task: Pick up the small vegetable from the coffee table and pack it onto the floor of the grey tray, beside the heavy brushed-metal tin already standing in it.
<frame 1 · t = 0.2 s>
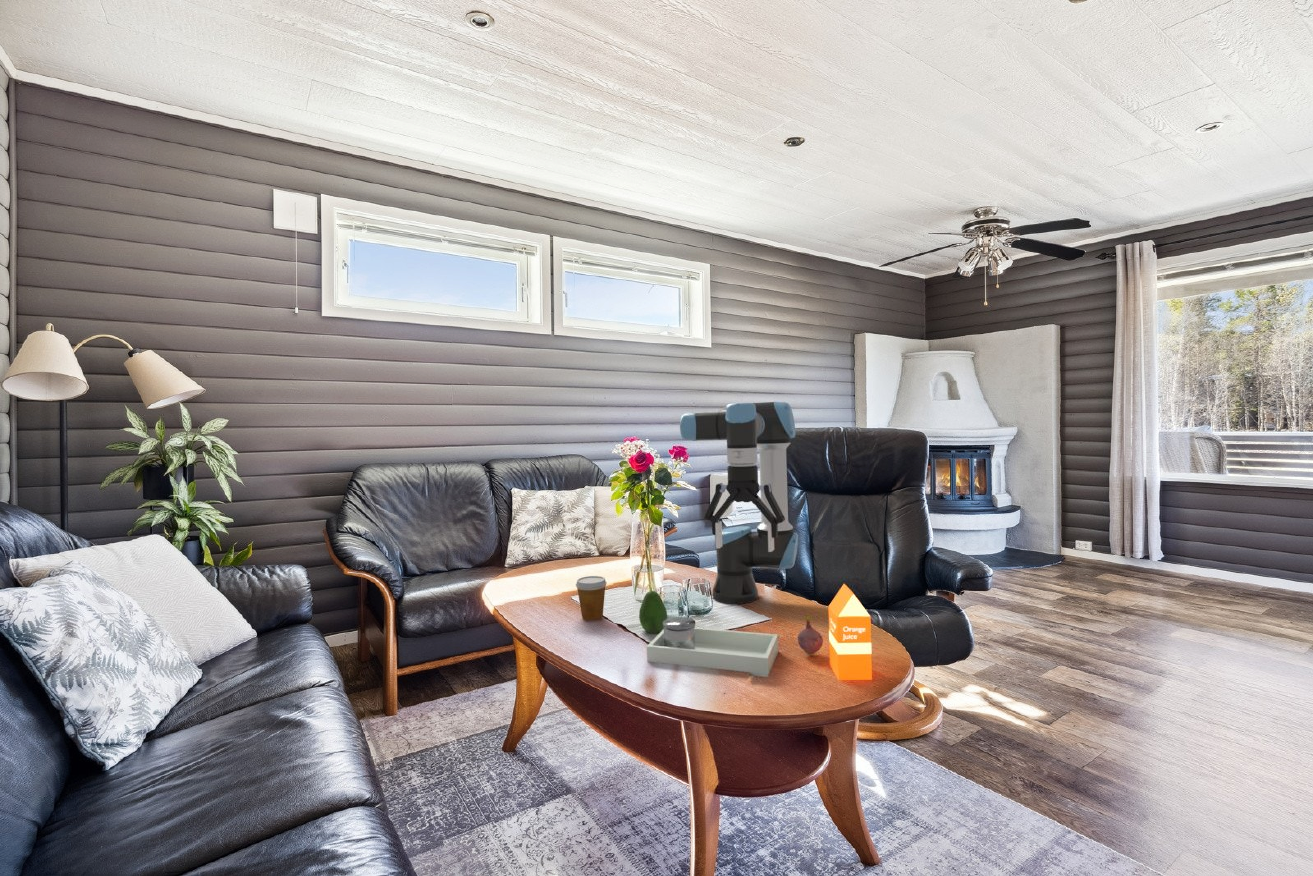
hand: (744, 549, 156), 27 cm above the table, fingers open, 13 cm apart
orange juice: (850, 672, 146), on the table
disposable coffee cup: (592, 618, 192), on the table
avocado: (653, 634, 177), on the table
tin: (680, 651, 160), point 1 cm above the table, touching grey tray
vegetable: (810, 655, 157), on the table
grey tray: (714, 658, 157), on the table
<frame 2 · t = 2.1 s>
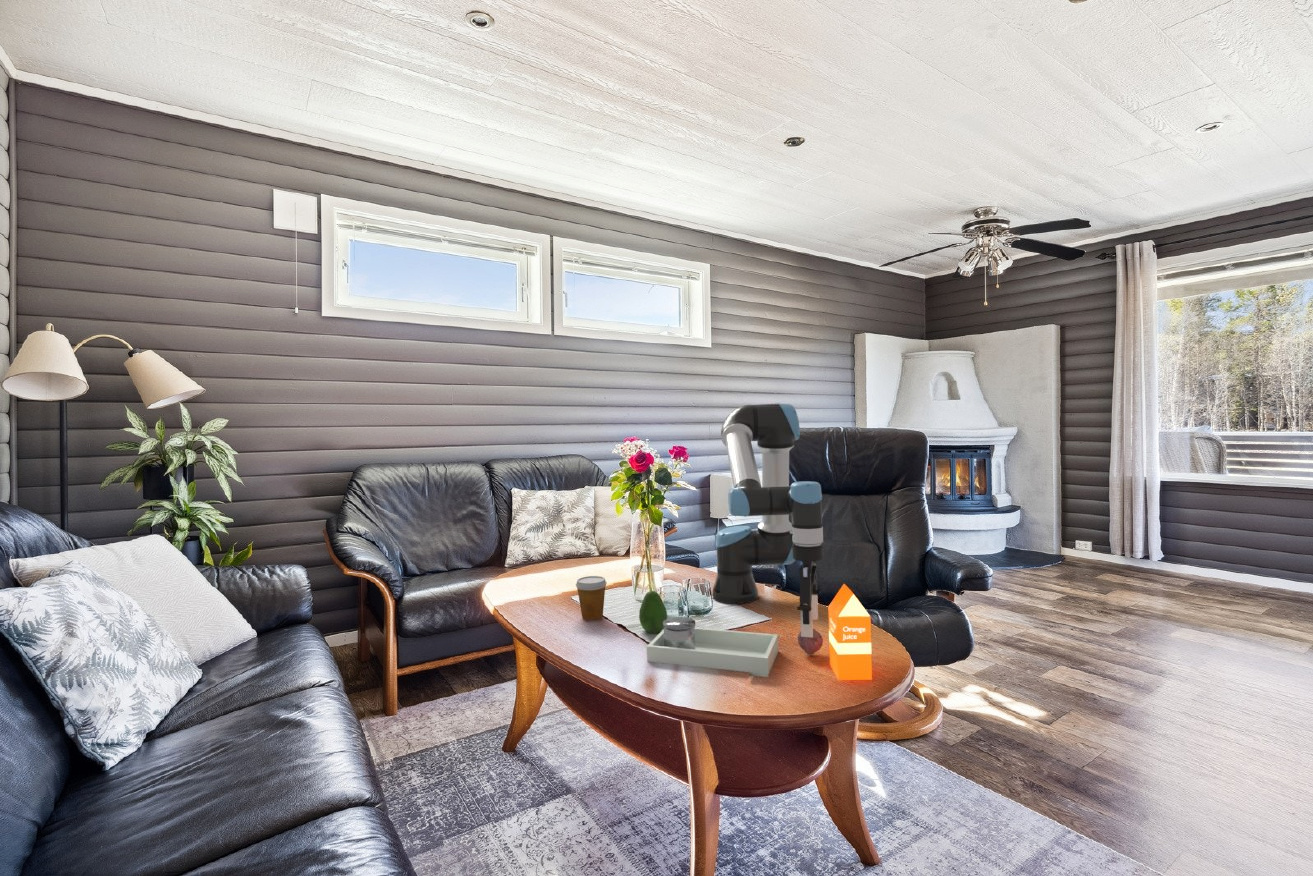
hand: (810, 627, 156), 7 cm above the table, fingers open, 13 cm apart
nothing on the table moved.
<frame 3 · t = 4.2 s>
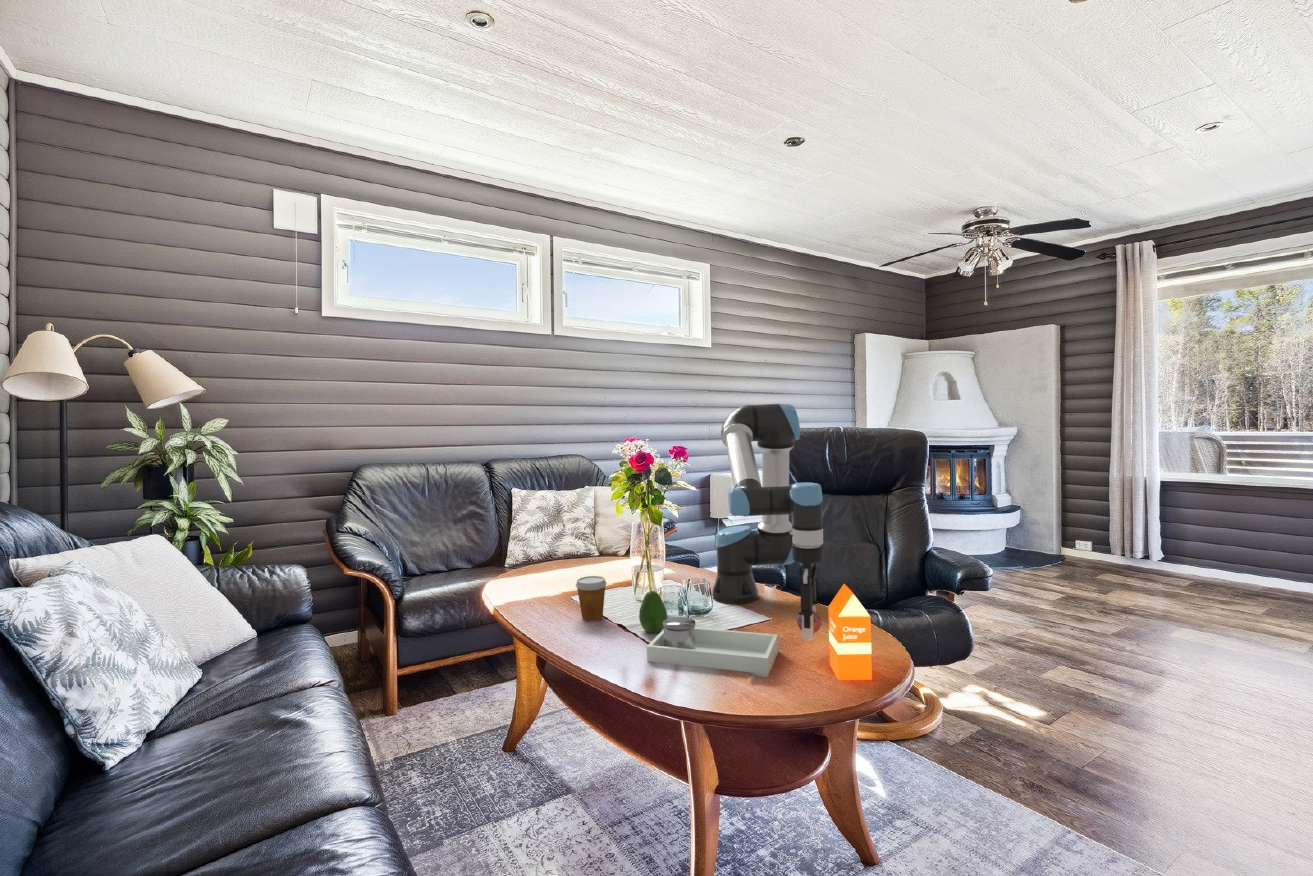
hand: (809, 634, 158), 5 cm above the table, fingers closed on vegetable, 6 cm apart
vegetable: (809, 636, 158), point 4 cm above the table, touching gripper
everything else where it was.
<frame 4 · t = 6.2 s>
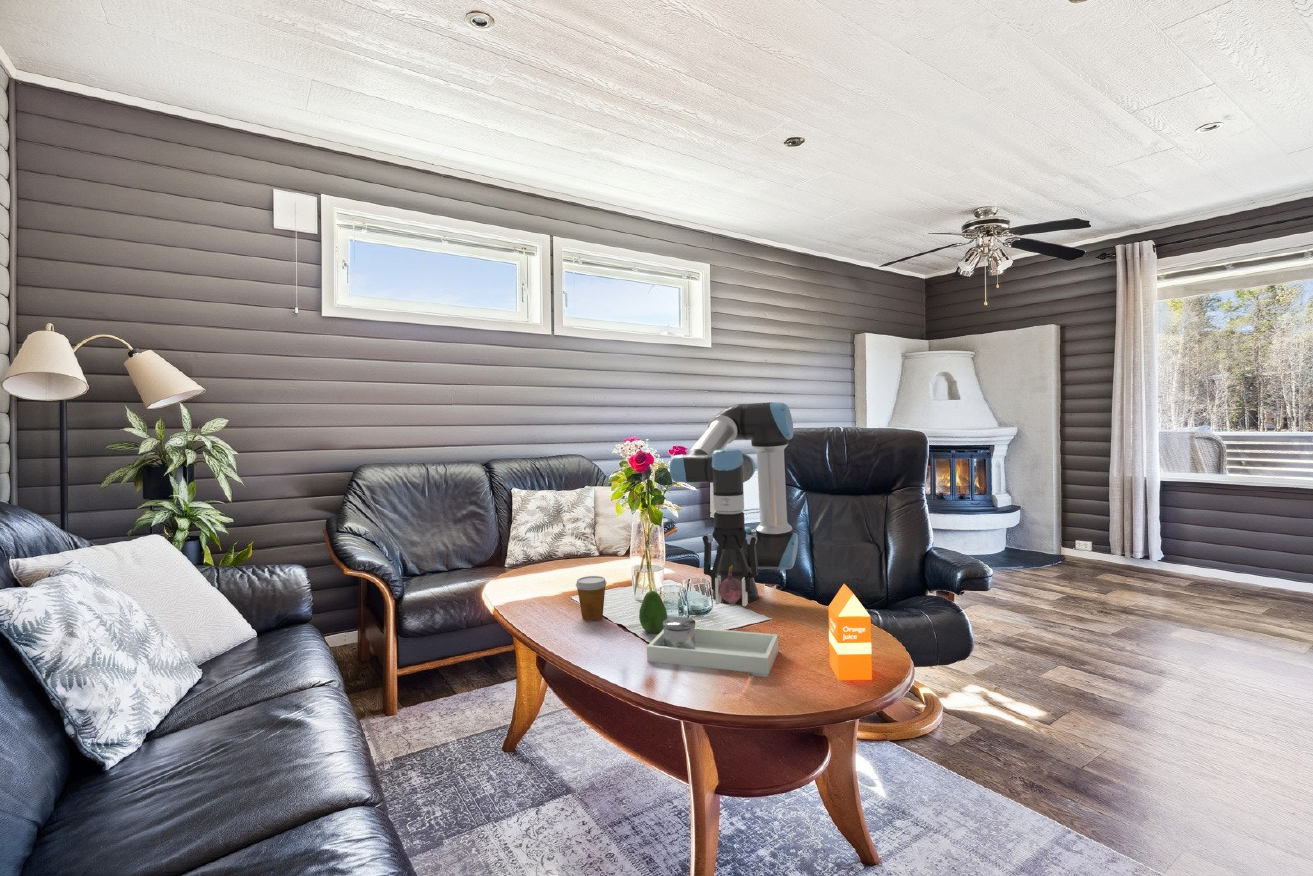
hand: (731, 603, 155), 14 cm above the table, fingers closed on vegetable, 6 cm apart
vegetable: (731, 605, 155), point 14 cm above the table, touching gripper
everything else where it was.
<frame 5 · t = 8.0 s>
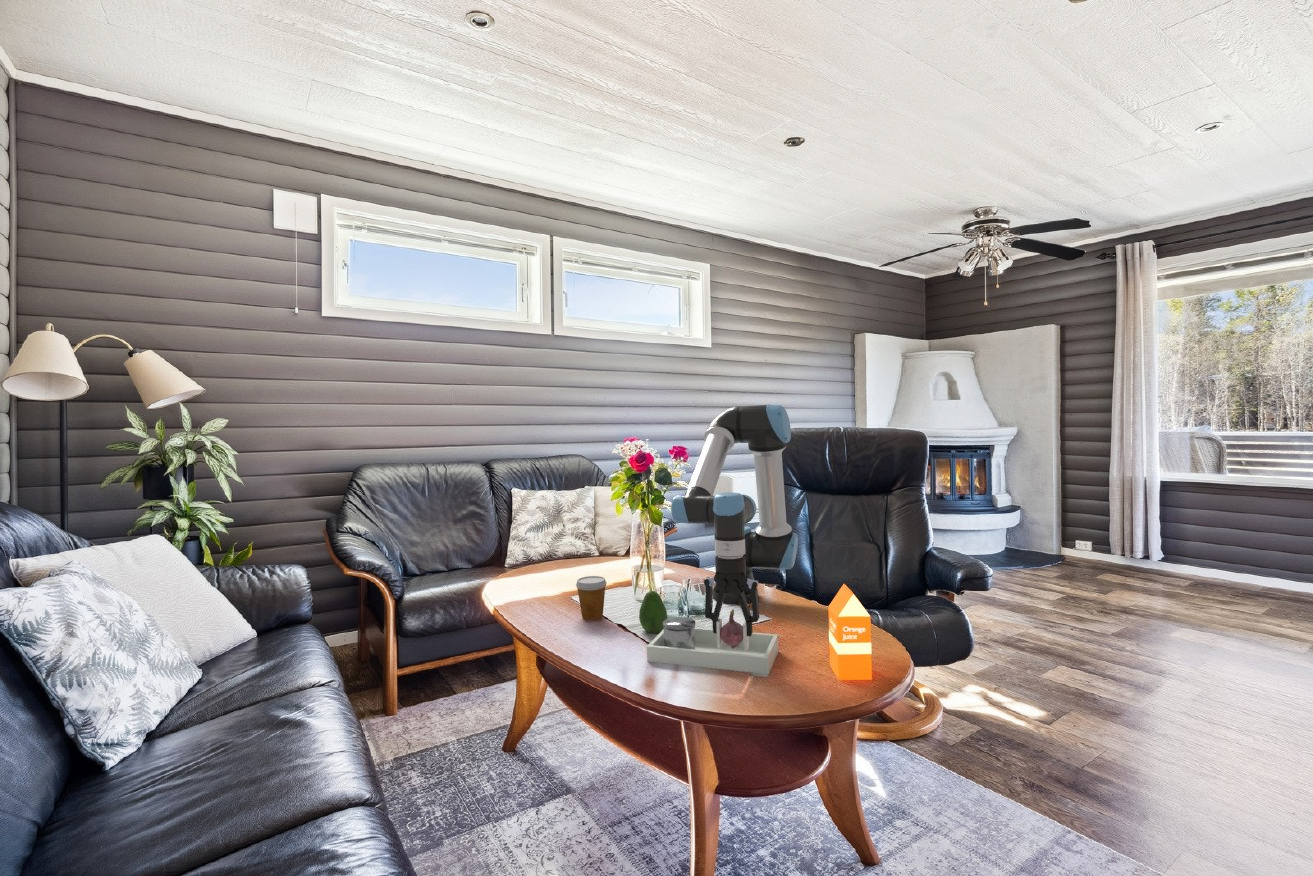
hand: (732, 647, 155), 3 cm above the table, fingers closed on vegetable, 6 cm apart
vegetable: (733, 649, 155), point 3 cm above the table, touching gripper
everything else where it was.
when the fingers open (2 cm above the table, at t = 8.6 s): vegetable drops 1 cm, resting on grey tray.
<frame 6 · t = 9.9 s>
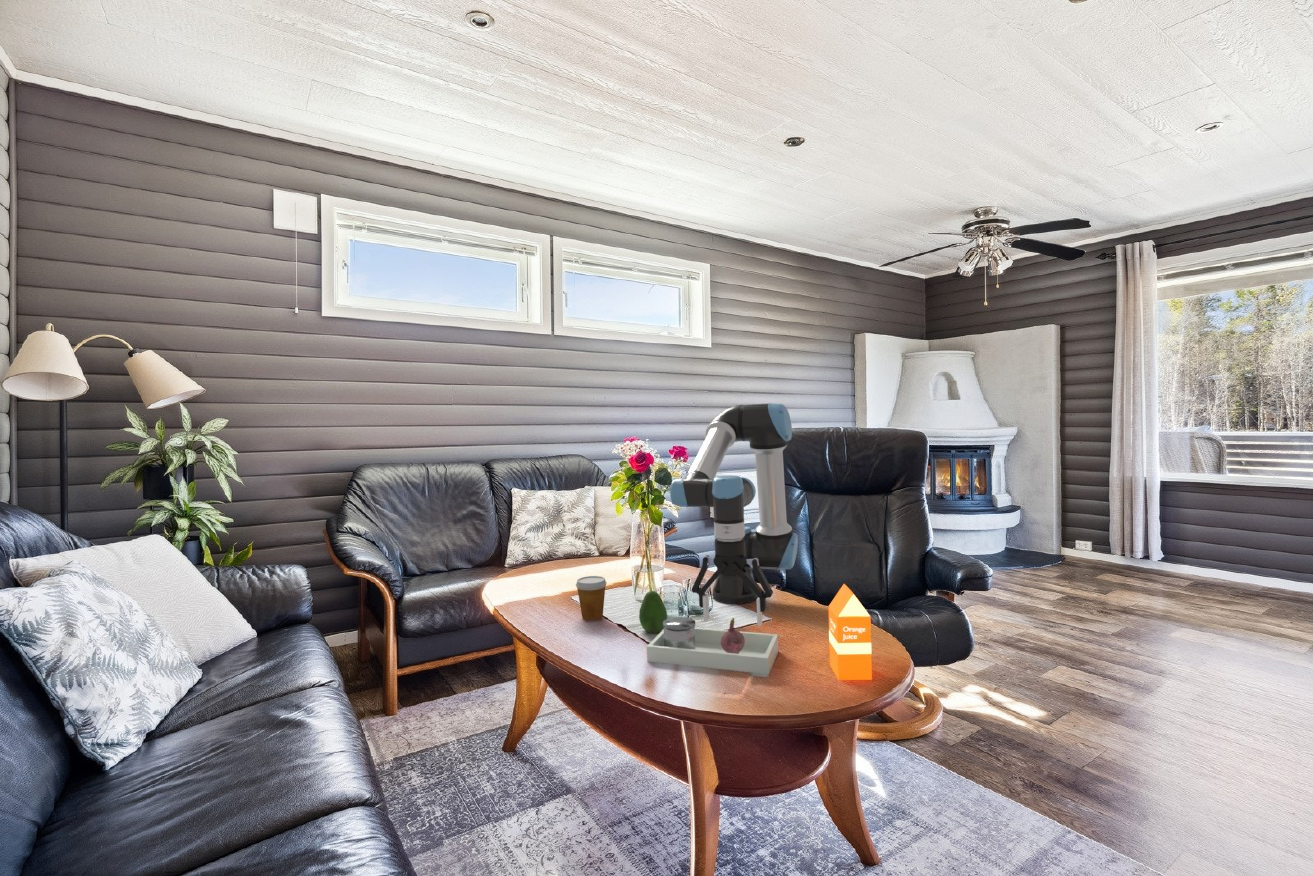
hand: (732, 622, 156), 9 cm above the table, fingers open, 13 cm apart
vegetable: (733, 657, 156), point 1 cm above the table, touching grey tray
everything else where it was.
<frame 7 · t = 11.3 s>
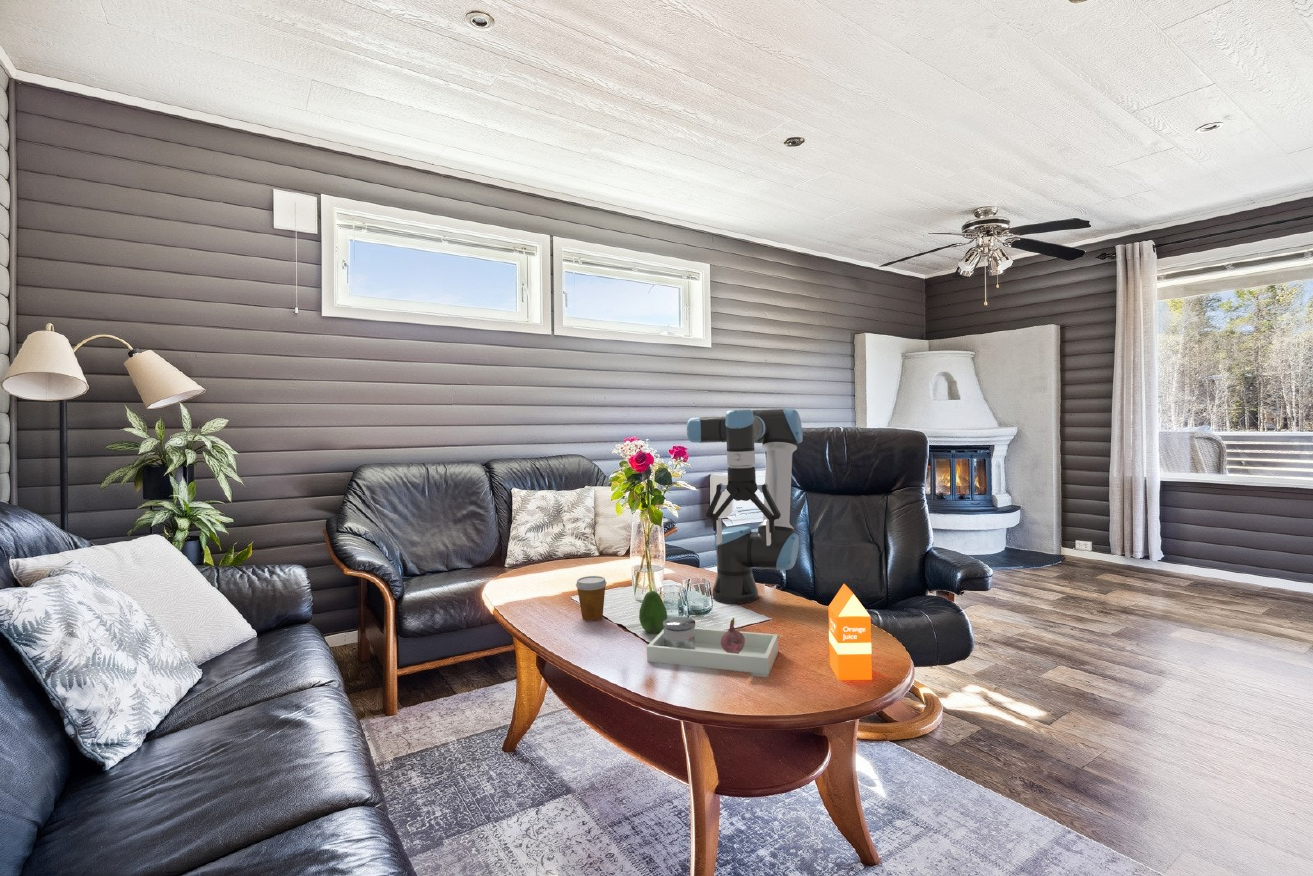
hand: (744, 543, 170), 26 cm above the table, fingers open, 13 cm apart
nothing on the table moved.
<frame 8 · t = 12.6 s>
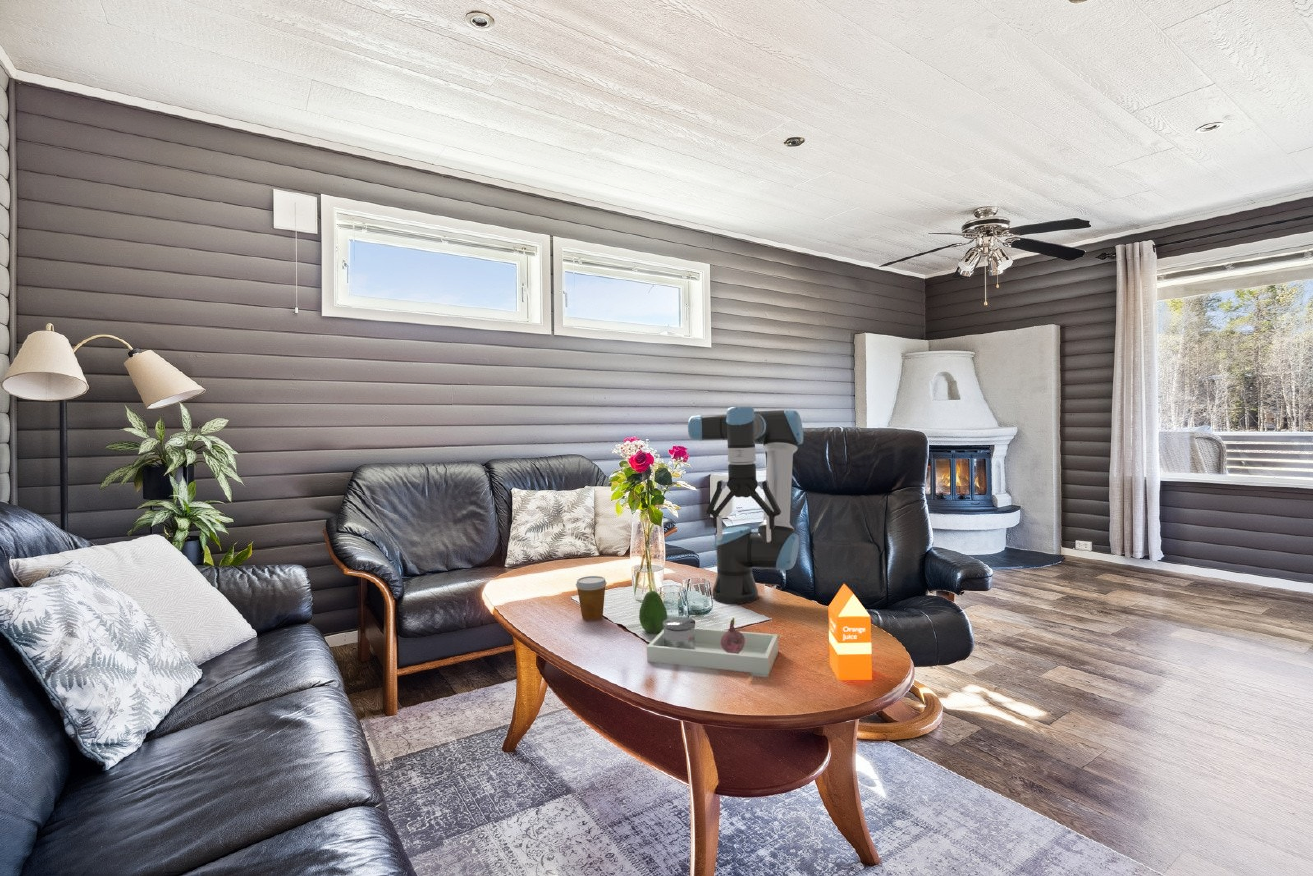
hand: (744, 540, 171), 27 cm above the table, fingers open, 13 cm apart
nothing on the table moved.
at the end: vegetable inside the target area on the grey tray (0.2 cm from its centre), point 0.6 cm above the grey tray's base; tin moved 0.0 cm from its start; the gripper is holding nothing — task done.
